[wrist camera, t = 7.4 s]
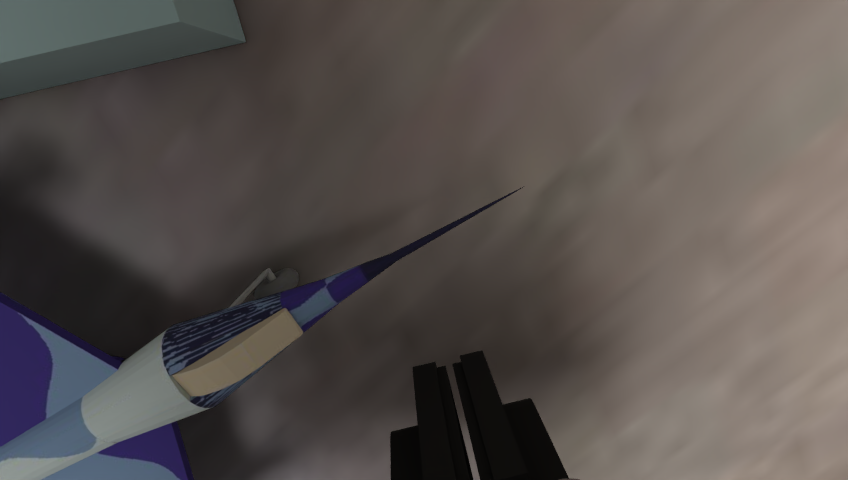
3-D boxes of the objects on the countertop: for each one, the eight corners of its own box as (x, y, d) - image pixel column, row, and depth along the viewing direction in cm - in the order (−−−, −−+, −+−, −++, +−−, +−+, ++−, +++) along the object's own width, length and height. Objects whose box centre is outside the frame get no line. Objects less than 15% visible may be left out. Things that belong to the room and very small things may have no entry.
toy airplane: (497, 162, 11) (544, 196, 8) (321, 612, 15) (301, 769, 12) (-162, -73, 9) (-480, -162, 6) (-183, 515, 13) (-390, 671, 9)
